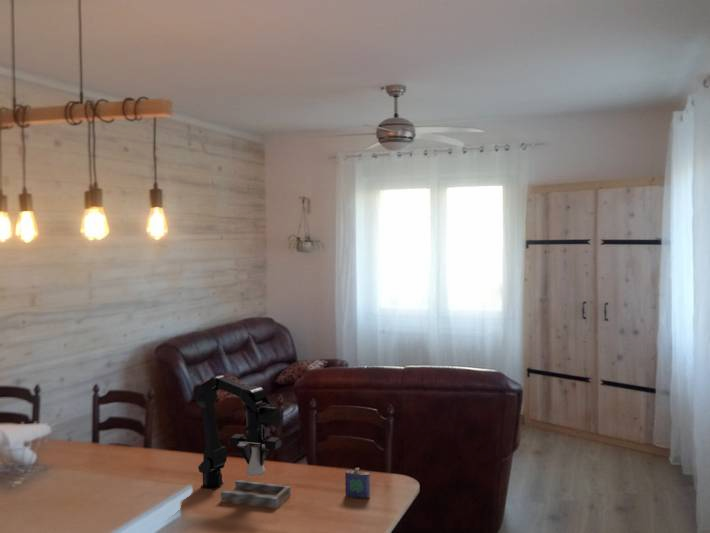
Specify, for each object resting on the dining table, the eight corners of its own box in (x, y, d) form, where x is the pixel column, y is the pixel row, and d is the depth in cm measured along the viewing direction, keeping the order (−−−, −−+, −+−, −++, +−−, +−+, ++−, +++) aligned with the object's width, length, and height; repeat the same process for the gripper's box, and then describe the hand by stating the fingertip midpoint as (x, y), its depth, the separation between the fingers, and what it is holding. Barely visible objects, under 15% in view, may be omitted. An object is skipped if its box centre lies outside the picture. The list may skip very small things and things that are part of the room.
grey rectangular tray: (221, 501, 229) (221, 492, 229) (237, 489, 241) (237, 479, 241) (276, 508, 222) (276, 499, 222) (290, 495, 234) (290, 486, 234)
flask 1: (261, 477, 227) (261, 449, 227) (242, 476, 228) (242, 448, 228) (268, 470, 234) (267, 443, 234) (249, 468, 236) (249, 442, 235)
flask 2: (370, 496, 232) (370, 467, 231) (368, 499, 229) (368, 470, 229) (346, 494, 235) (346, 465, 234) (344, 497, 232) (343, 468, 231)
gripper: (287, 418, 235) (288, 459, 236) (242, 414, 241) (243, 455, 242) (274, 427, 225) (275, 470, 225) (227, 422, 230) (228, 465, 231)
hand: (255, 464), depth 231 cm, fingers closed on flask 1, 5 cm apart
